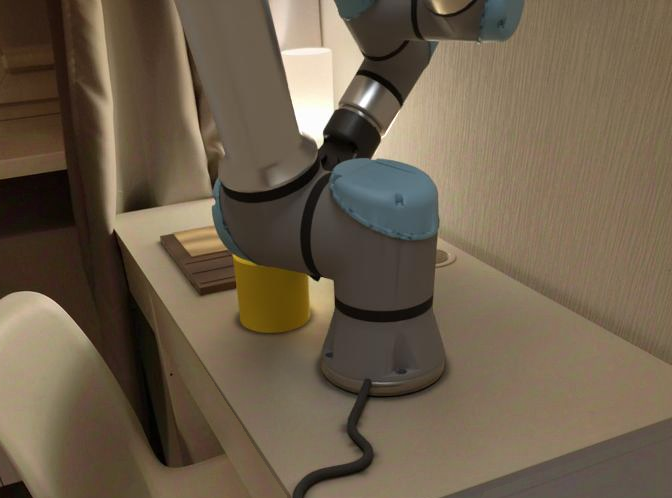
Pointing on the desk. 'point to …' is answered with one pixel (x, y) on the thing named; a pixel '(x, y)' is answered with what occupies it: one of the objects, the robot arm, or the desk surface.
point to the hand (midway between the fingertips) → (279, 263)
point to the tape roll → (271, 297)
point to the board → (202, 258)
